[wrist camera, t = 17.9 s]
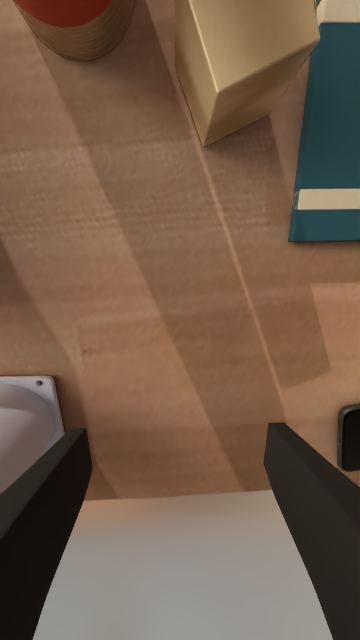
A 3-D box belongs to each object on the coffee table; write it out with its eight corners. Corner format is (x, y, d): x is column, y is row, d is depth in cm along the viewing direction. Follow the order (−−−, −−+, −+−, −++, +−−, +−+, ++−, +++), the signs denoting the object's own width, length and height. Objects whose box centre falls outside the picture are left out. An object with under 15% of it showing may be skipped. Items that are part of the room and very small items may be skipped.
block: (202, 148, 14) (217, 93, 9) (174, 64, 13) (174, -49, 8) (269, 114, 14) (321, 39, 9) (246, 25, 12) (292, -121, 8)
